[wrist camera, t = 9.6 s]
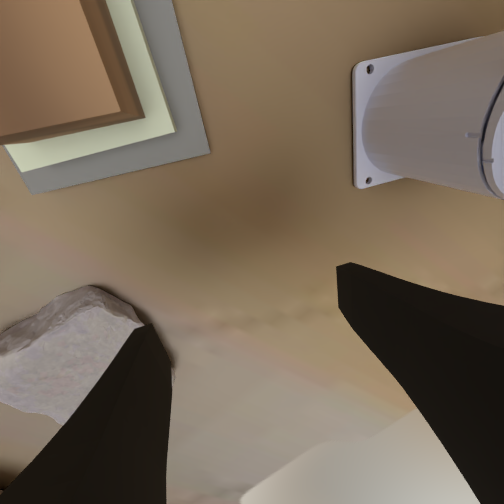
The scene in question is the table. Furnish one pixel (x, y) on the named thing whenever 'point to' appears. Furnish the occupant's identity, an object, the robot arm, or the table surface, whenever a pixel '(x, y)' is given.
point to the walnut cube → (61, 70)
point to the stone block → (63, 351)
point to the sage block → (118, 134)
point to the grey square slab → (154, 149)
